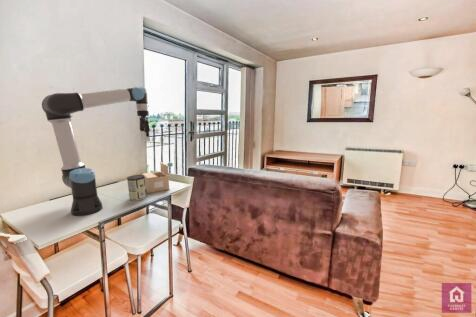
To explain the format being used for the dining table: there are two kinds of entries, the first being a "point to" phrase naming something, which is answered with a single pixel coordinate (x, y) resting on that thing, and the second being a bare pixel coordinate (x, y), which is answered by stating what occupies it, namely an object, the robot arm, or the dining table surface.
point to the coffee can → (136, 187)
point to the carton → (156, 182)
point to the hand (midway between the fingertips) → (145, 140)
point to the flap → (165, 167)
